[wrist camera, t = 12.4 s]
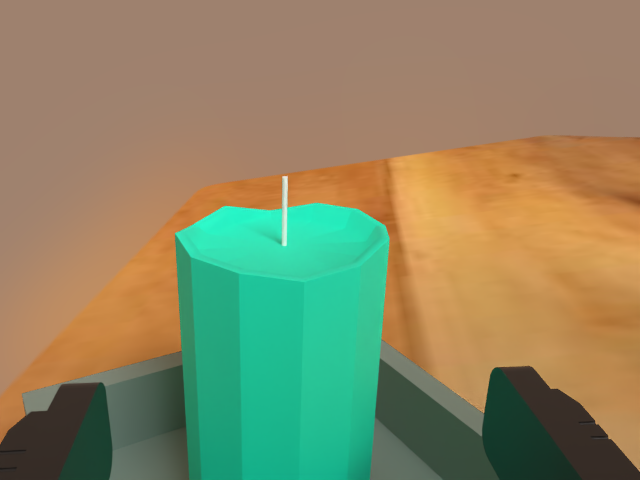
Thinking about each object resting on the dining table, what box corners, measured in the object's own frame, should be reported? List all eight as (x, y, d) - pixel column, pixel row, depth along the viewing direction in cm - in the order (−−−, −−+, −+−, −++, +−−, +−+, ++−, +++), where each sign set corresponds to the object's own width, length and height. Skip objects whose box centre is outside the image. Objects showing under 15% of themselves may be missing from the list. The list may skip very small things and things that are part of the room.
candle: (383, 475, 22) (411, 165, 17) (340, 622, 16) (367, 222, 12) (238, 439, 23) (233, 147, 19) (156, 561, 18) (123, 191, 14)
